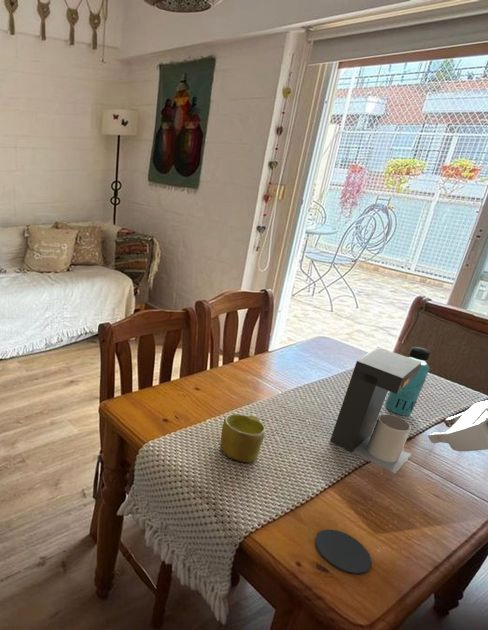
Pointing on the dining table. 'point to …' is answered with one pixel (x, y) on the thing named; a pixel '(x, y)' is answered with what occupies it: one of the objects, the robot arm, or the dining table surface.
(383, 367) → the coffee maker
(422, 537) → the dining table surface
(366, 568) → the coaster
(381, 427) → the coffee cup
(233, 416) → the mug
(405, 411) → the beverage bottle
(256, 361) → the dining table surface
